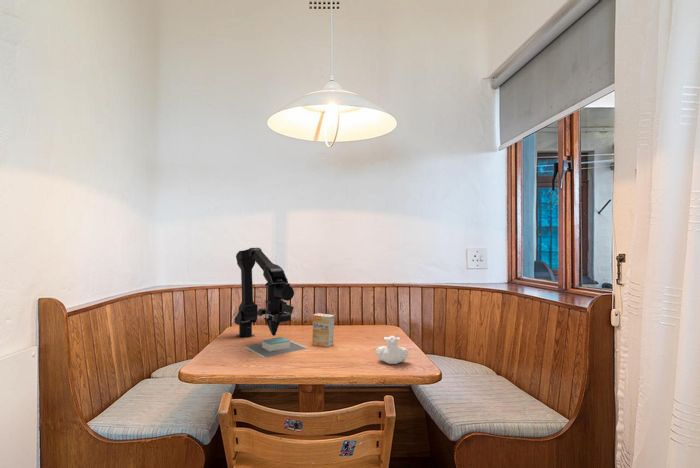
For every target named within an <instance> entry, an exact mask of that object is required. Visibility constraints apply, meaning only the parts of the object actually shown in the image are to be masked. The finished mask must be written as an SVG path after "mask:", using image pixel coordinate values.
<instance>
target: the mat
mask: <svg viewBox="0 0 700 468" xmlns="http://www.w3.org/2000/svg"><path fill="white" fill-rule="evenodd" d="M244 348H245V349H246V350H249V351H250V352H252V353H254V354H255V355H257V356H259V357H261V358H263V359H264V358H269V357H273V356H279V355H283V354H287V353H292V352H293V353H294V352H297V351H302V350H303V351H304V350H308V349H309V347H306V346H304V345H303V344H299V343H296V342H294V341H292V340H290V348H286V349H281V350H275V351H268V350H266V349H264V348H262V343H257V344H253V345H246V346H244Z"/></svg>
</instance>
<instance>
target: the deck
mask: <svg viewBox="0 0 700 468" xmlns="http://www.w3.org/2000/svg"><path fill="white" fill-rule="evenodd" d="M290 341H291V339H288V338H285V337H283V336H278V337H273V338H267V339H262V340H261V342H262V343H261V344H262V348H264V349H266V350H268V351H275V350H281V349H286V348H290Z"/></svg>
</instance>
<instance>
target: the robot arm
mask: <svg viewBox="0 0 700 468" xmlns="http://www.w3.org/2000/svg"><path fill="white" fill-rule="evenodd" d="M235 258H236V262H237V263H236V265H237V266H238V268H239V269H240V280H241V303H240V304H239V306H238V308H237V309H238V310H237V314H236V316H235V317H234V324H236V325H238V326H239V327H238V330H239V331H238V334H236V337H238V338H240V339H246V338H252V337H256V335H255V334H253V324H255V323H257V321H258V316H259V317H263V316H264V315H265V317H264V318H263V319H264V321H265V323H266V325H267V327H268V329H269V331H270V334H271V336H273V337H274V336H276V334H277V331H278V328H279V325H280V324H281V323H284V322H285V323H286V322H290V321H291V322H292V315H293V312H294V308H295V306H293V305H290V304H288V303H287V301H291V300H293V297H294V295H295V291H294V288H293V287H292V286H291V283H290V282H289V281H288V278H287V276H286V274H285V271H284V268H283V267H281V266H280V265H278V264H276V263H273V262H272V261H271V260H270V258H269V257H268V256H267V255H266V254H265V253H264V252H263V251H262V248H261V247H250V248H248V249H243V250H239V251H238V252H237V253H236V254H235ZM256 264H257V265H258V266H259V267H260V268H261V270H262V272H263V273H262V276H263V277H264V278H265V280H266V283H265V284H264V287H267V289H266V290H267V291H266V295H267V296H266V297H267V298H266V299H265V300H264V303H266V307H262V308H261V307H260V308H259V306H258V304H257V303H255V302H254V290H253V268H254V266H255V265H256Z"/></svg>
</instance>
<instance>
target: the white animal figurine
mask: <svg viewBox="0 0 700 468" xmlns="http://www.w3.org/2000/svg"><path fill="white" fill-rule="evenodd" d="M383 339H384V341H385V342H386V343H385V345H386V346H385V345H383V346H378V347H377V348H376V349H375V352H376V356H377V358H378V360H380V361H382V362H384V363H386V364H390V365H397V364H399V363H401V362H405V361H406V360H407V358H408V355H409V350H408V349H407V348H406V347H403V346H398V345H399V344H398V342H400V340H401V337H395V335H389V336H388V337H387V336H384V337H383Z"/></svg>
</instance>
